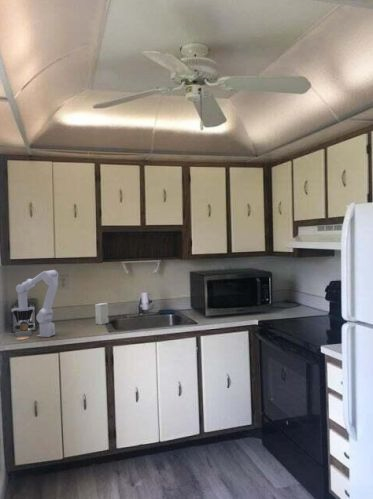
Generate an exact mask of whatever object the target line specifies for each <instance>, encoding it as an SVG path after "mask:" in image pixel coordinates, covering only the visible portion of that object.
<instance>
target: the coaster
mask: <svg viewBox="0 0 373 499" xmlns="http://www.w3.org/2000/svg"><path fill="white" fill-rule="evenodd" d="M15 339H16V340H17V341H24V340H28V339H30V335H29V336H18V337H15Z"/></svg>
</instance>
